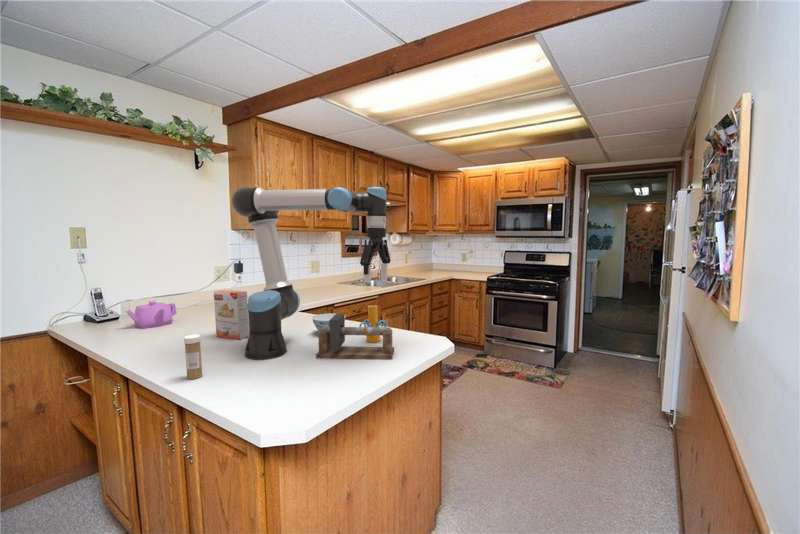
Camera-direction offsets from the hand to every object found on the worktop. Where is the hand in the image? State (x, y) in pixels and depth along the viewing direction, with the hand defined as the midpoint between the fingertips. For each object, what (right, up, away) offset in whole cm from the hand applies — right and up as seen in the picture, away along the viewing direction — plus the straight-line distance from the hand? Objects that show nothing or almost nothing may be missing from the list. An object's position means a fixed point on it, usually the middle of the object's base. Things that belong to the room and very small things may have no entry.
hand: (375, 281), depth 144 cm
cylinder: (-2, -26, +10) cm, 28 cm away
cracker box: (-65, -26, +18) cm, 73 cm away
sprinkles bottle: (-56, -30, -28) cm, 70 cm away
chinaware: (-23, -25, +23) cm, 41 cm away
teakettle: (-117, -25, +41) cm, 126 cm away
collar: (-14, -24, -7) cm, 29 cm away
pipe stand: (-7, -28, -7) cm, 29 cm away
